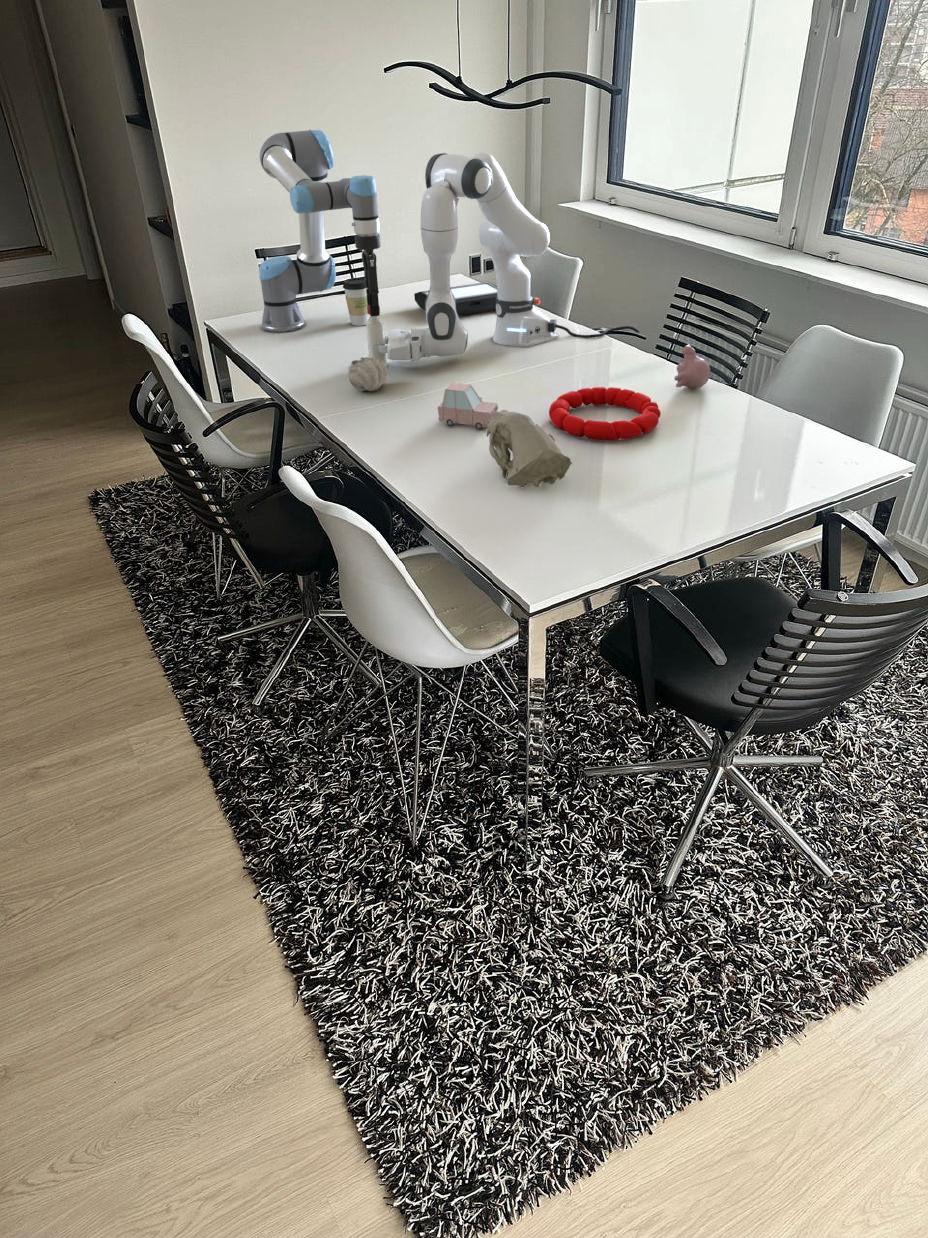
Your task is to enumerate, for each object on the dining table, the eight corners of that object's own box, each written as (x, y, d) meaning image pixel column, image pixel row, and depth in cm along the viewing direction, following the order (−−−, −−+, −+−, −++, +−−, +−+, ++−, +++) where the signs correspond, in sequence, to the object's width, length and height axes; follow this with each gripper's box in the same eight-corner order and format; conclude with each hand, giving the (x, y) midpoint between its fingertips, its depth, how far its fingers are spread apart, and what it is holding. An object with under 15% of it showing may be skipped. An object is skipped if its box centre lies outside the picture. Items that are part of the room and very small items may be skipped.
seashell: (340, 389, 270) (336, 357, 264) (385, 380, 276) (382, 348, 270) (353, 400, 262) (350, 366, 257) (399, 390, 268) (397, 357, 262)
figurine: (665, 387, 264) (669, 347, 257) (693, 380, 268) (698, 340, 261) (686, 396, 257) (690, 355, 250) (714, 388, 262) (720, 348, 255)
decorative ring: (589, 435, 224) (684, 402, 234) (527, 398, 247) (617, 369, 256) (589, 461, 229) (683, 427, 238) (529, 422, 251) (617, 393, 260)
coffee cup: (372, 326, 323) (368, 283, 314) (345, 327, 323) (340, 284, 315) (374, 318, 331) (371, 276, 322) (348, 319, 331) (344, 277, 323)
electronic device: (434, 303, 323) (414, 291, 338) (435, 321, 326) (415, 307, 341) (513, 291, 333) (490, 280, 348) (512, 308, 336) (490, 296, 352)
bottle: (378, 361, 291) (373, 304, 281) (390, 365, 288) (386, 307, 277) (366, 366, 287) (360, 308, 277) (378, 369, 284) (373, 311, 274)
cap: (381, 311, 279) (381, 304, 278) (377, 315, 276) (377, 307, 275) (369, 311, 280) (369, 303, 279) (365, 314, 277) (365, 307, 276)
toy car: (488, 432, 240) (488, 396, 234) (436, 426, 244) (434, 390, 239) (499, 419, 247) (499, 384, 241) (448, 413, 252) (447, 379, 246)
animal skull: (496, 517, 219) (521, 479, 201) (463, 429, 225) (484, 384, 207) (557, 503, 225) (586, 465, 206) (523, 417, 231) (549, 373, 212)
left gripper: (351, 228, 272) (358, 305, 285) (358, 241, 257) (365, 322, 270) (375, 226, 273) (381, 303, 286) (384, 239, 258) (390, 320, 271)
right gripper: (416, 323, 291) (374, 325, 291) (416, 343, 274) (371, 344, 274) (417, 342, 294) (375, 344, 294) (417, 363, 277) (373, 365, 277)
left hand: (373, 312), depth 278 cm, fingers open, 6 cm apart
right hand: (373, 344), depth 284 cm, fingers closed on bottle, 5 cm apart
